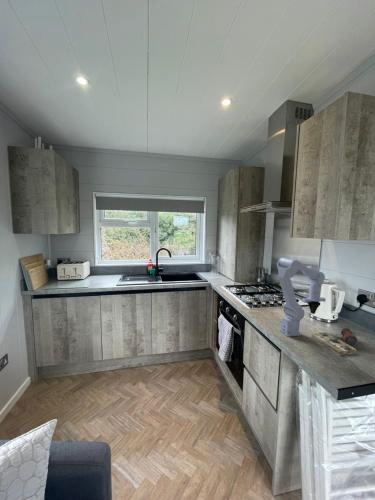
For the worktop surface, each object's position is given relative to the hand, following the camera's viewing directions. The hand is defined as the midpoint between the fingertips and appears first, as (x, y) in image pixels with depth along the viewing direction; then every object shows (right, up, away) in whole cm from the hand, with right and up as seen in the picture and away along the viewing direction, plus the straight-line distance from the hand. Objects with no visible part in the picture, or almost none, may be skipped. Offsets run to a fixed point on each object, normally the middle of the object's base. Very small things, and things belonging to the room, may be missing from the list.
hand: (312, 313), depth 130 cm
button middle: (+2, -10, -17) cm, 19 cm away
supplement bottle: (+14, -8, -9) cm, 19 cm away
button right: (+3, -12, -23) cm, 26 cm away
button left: (0, -10, -10) cm, 14 cm away
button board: (+1, -12, -17) cm, 20 cm away
